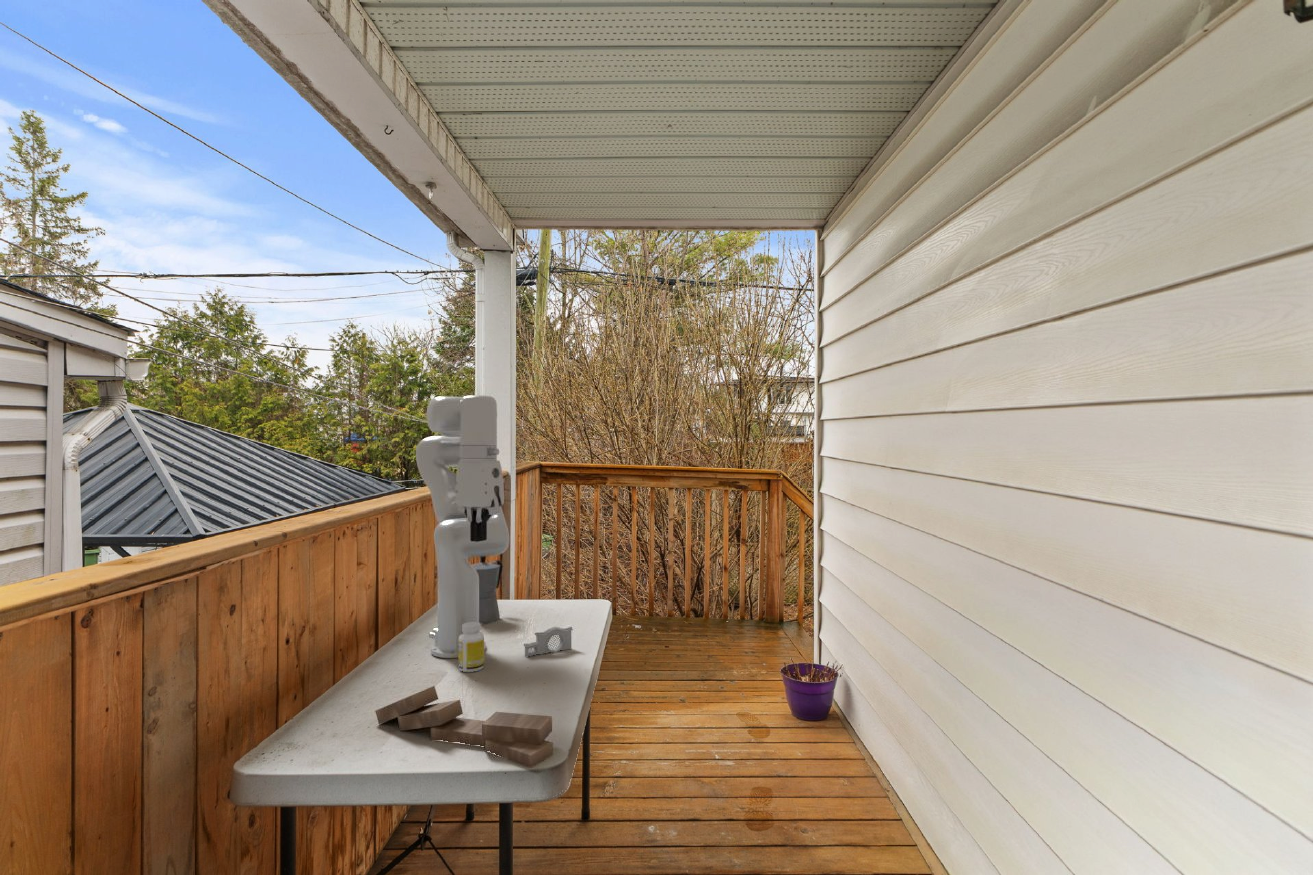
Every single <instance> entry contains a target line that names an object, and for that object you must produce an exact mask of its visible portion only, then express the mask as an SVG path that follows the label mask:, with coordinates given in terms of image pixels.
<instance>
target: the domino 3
mask: <svg viewBox="0 0 1313 875" xmlns="http://www.w3.org/2000/svg"><path fill="white" fill-rule="evenodd" d="M485 721H486V720H479V719H471V718H464V717H458V716H457V717H456V718H454V719H452V720H450V721H448V722H446V723H444V724H442V725H437V726H431V727H430V741H432V740H443V741H448V742H460V743H465V744H470V745H480V746H485V739H482V724H483V723H484V722H485Z"/></svg>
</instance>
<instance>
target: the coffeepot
mask: <svg viewBox="0 0 1313 875" xmlns="http://www.w3.org/2000/svg"><path fill="white" fill-rule="evenodd" d="M479 558H480V562H477V563H473V564H471V565H472V566H473V567H474V568H475V569H476V571H477V573H478V576H479V623H483V624H489V623H488V622H490V623H493V622H492V621H494V622H496V620H497V621H499V620H500V617H501V616H500V615H501V614H500V611H499V605H498V599H497V596H496V591H497V589H499V587H500V582H501V577H502V572H503V564H502V561H500V559H499V560H493V561H490V562H486V561H487V560H486V559H487V556H482V557H479Z"/></svg>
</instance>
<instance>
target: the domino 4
mask: <svg viewBox="0 0 1313 875" xmlns="http://www.w3.org/2000/svg"><path fill="white" fill-rule="evenodd" d="M484 721H485V722H484V723H483V724H482V739H485V740H496V741H506V742H517V743H528V744H538V745H541V743H542V742H543V741H544V740H546V739H547V737H549V735H550V734H551V733H552V732H553V716H552V715H551V716H550V715H538V714H528V713H514V712H506V711H505V712H502V711H495V712H494V713H493V714H492V715H490V717H488V718H487V719H486V720H484Z"/></svg>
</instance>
